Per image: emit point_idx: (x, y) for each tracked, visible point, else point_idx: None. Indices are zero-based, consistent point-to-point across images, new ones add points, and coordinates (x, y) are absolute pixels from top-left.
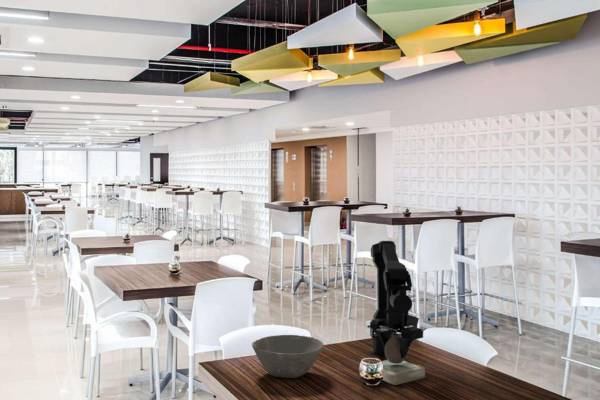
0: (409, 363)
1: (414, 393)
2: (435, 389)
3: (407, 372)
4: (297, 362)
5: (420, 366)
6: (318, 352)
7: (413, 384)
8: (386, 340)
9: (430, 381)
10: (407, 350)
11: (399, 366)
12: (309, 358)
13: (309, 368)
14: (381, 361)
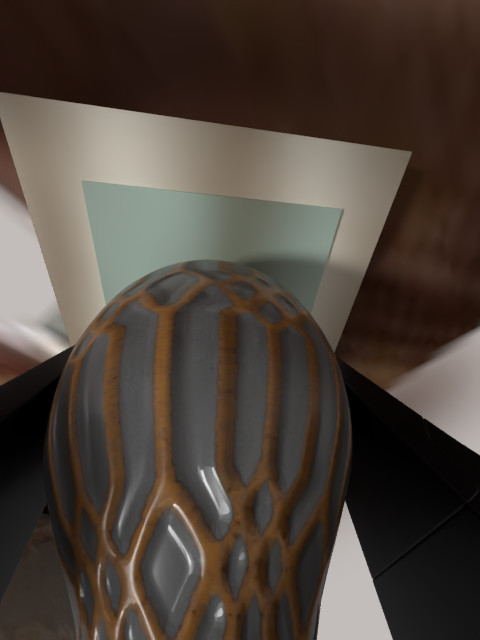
0: (234, 152)
1: (402, 373)
2: (474, 281)
3: (340, 334)
4: None
5: (360, 146)
6: (44, 629)
7: (358, 307)
8: (1, 507)
9: (422, 195)
10: (390, 404)
11: None
12: (72, 615)
13: (37, 530)
14: (65, 304)
